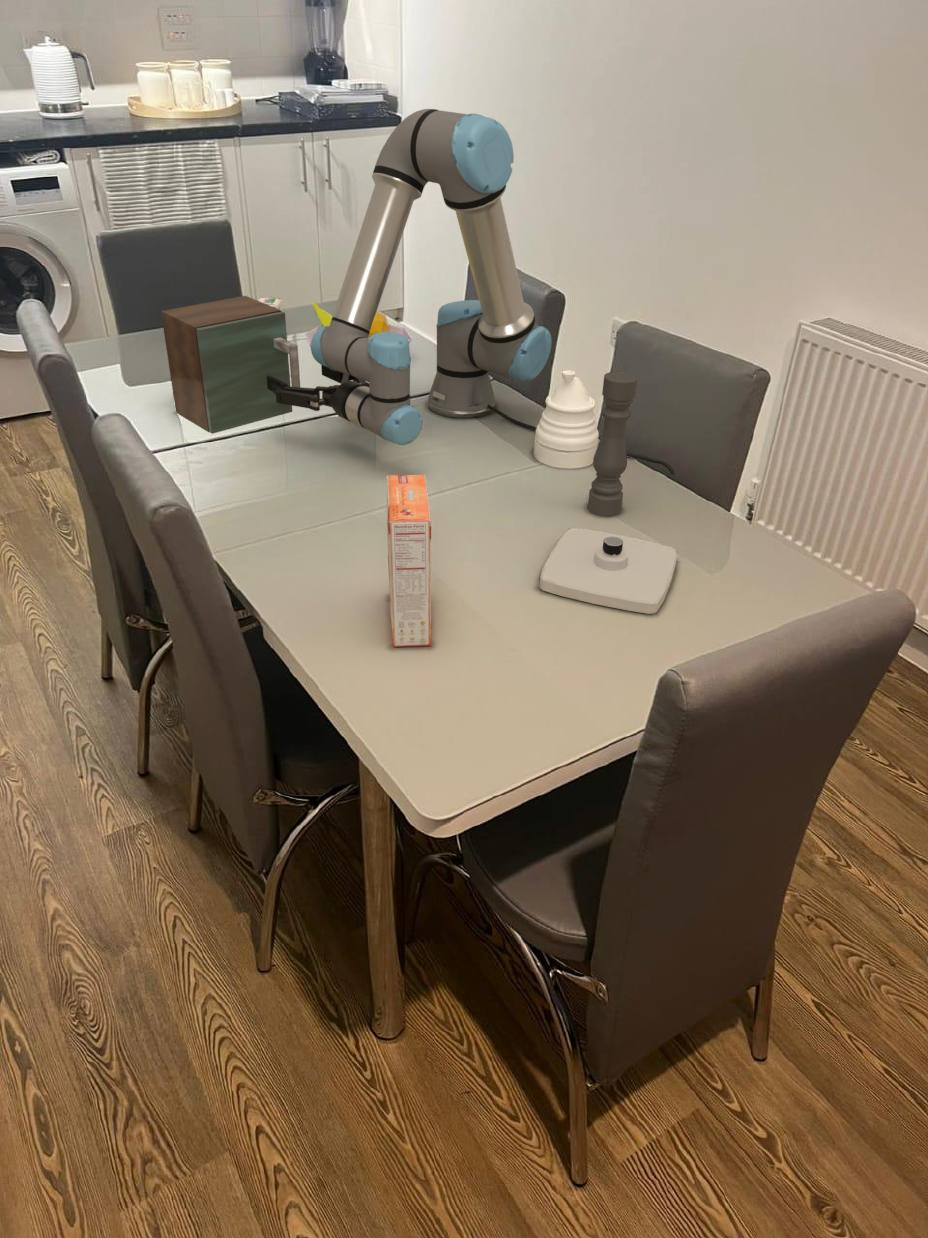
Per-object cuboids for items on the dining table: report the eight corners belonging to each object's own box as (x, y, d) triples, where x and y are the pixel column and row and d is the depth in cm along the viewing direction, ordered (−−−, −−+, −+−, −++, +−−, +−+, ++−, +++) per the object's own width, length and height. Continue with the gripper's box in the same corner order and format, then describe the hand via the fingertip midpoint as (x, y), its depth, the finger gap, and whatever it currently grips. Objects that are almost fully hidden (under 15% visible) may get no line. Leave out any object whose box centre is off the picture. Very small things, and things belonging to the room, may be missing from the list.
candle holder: (623, 504, 174) (642, 373, 160) (617, 519, 169) (635, 385, 155) (591, 498, 176) (606, 368, 162) (583, 513, 171) (599, 380, 157)
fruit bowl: (431, 364, 236) (431, 319, 229) (335, 383, 222) (333, 336, 216) (375, 335, 254) (374, 292, 248) (284, 350, 241) (281, 306, 235)
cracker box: (388, 596, 145) (385, 472, 134) (426, 595, 146) (427, 472, 134) (389, 648, 134) (387, 519, 122) (431, 647, 134) (433, 518, 123)
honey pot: (579, 474, 185) (588, 385, 175) (522, 458, 190) (528, 371, 180) (606, 452, 194) (617, 367, 184) (551, 437, 199) (558, 354, 189)
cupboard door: (310, 421, 202) (304, 320, 190) (229, 444, 191) (217, 338, 179) (289, 410, 207) (281, 311, 195) (209, 432, 196) (195, 328, 184)
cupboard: (289, 410, 208) (281, 310, 195) (208, 432, 196) (195, 327, 184) (254, 392, 216) (245, 295, 204) (175, 412, 204) (160, 310, 192)
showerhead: (532, 591, 148) (658, 619, 142) (535, 557, 144) (664, 584, 139) (565, 535, 163) (680, 558, 158) (569, 503, 160) (686, 526, 155)
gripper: (307, 438, 177) (246, 406, 190) (407, 407, 192) (345, 379, 204) (304, 400, 173) (242, 369, 186) (407, 372, 187) (343, 345, 200)
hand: (296, 375), depth 195 cm, fingers open, 13 cm apart
